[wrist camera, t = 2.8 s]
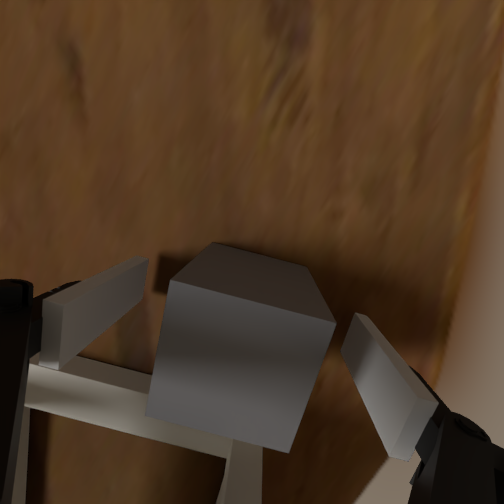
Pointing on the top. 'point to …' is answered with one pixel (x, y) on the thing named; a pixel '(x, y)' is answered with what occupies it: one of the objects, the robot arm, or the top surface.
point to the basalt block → (240, 347)
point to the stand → (129, 421)
